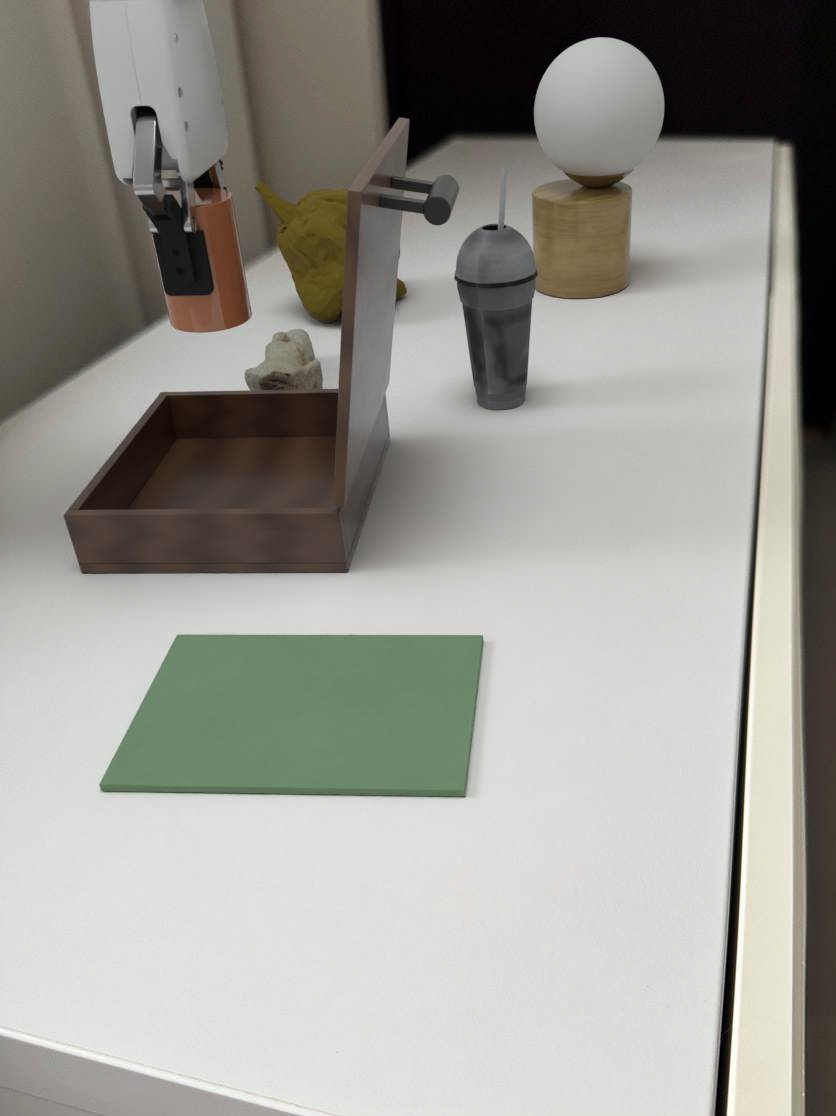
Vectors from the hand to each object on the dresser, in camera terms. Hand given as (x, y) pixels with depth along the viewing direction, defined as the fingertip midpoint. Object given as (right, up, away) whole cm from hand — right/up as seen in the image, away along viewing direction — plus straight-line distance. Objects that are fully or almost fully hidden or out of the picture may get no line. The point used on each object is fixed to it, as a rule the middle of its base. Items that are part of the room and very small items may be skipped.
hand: (203, 276), depth 72 cm
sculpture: (0, 0, +31) cm, 31 cm away
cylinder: (0, -2, +2) cm, 3 cm away
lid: (+11, -1, +2) cm, 11 cm away
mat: (+9, -29, -10) cm, 32 cm away
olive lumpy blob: (+3, +13, +50) cm, 51 cm away
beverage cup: (+21, -3, +26) cm, 33 cm away
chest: (+1, -14, +12) cm, 18 cm away
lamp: (+32, +18, +53) cm, 65 cm away
